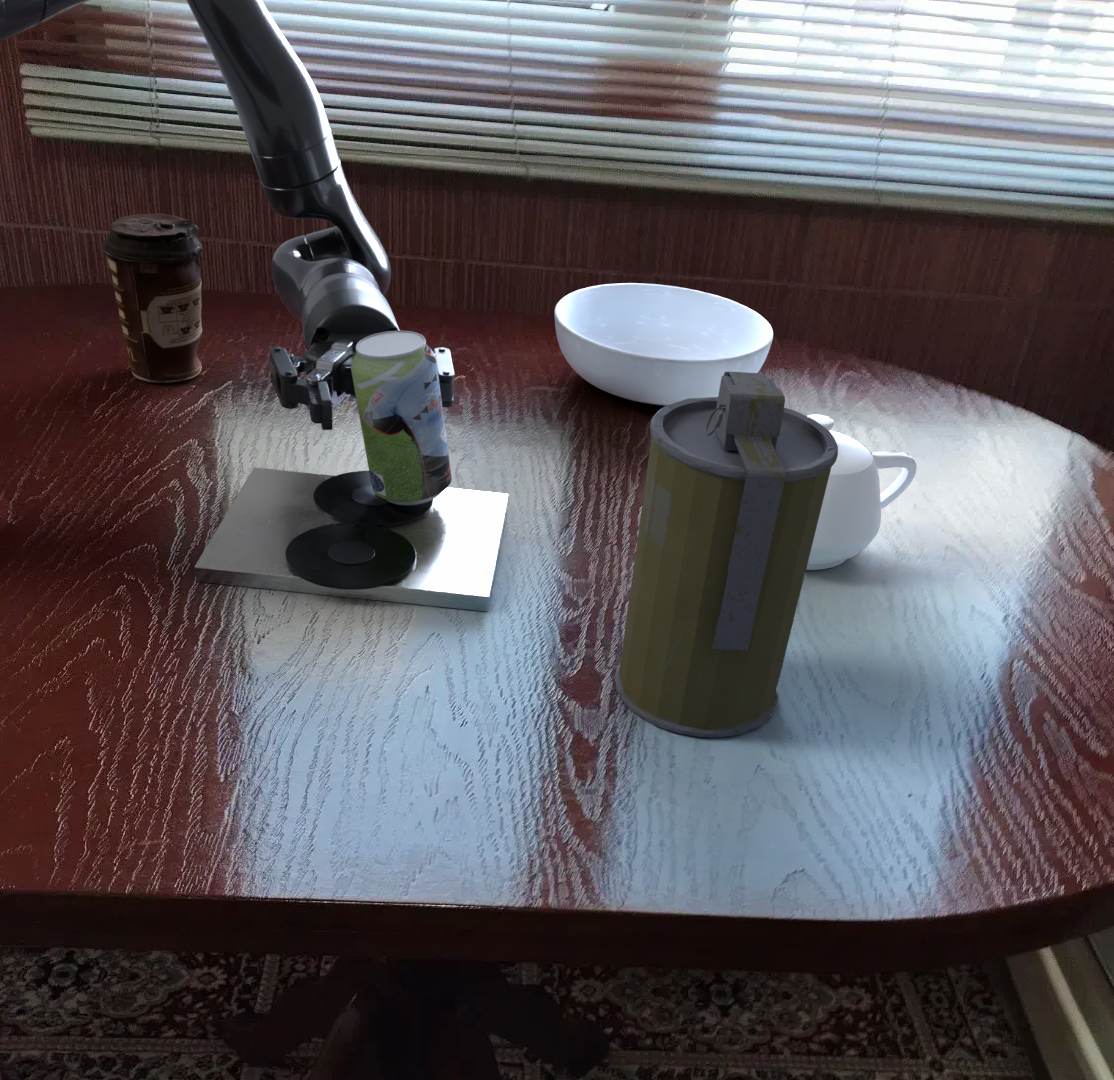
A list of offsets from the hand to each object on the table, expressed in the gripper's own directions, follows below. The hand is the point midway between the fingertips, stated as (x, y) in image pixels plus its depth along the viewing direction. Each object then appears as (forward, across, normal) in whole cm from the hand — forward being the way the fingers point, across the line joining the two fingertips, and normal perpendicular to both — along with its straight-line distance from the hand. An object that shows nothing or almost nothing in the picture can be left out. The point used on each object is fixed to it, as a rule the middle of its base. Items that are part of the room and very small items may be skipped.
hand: (377, 416), depth 85 cm
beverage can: (-2, +2, +7) cm, 8 cm away
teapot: (+5, +31, +9) cm, 33 cm away
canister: (+23, +17, +9) cm, 30 cm away
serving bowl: (-27, +30, +9) cm, 42 cm away
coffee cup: (-32, -15, +9) cm, 36 cm away
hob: (+2, -1, +9) cm, 9 cm away
